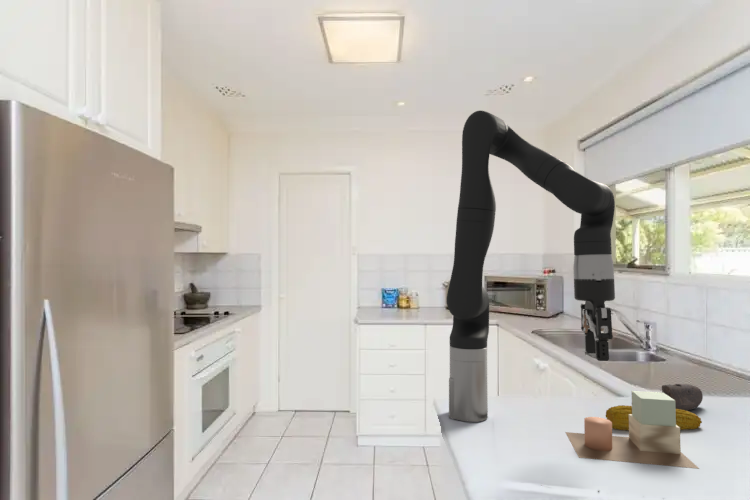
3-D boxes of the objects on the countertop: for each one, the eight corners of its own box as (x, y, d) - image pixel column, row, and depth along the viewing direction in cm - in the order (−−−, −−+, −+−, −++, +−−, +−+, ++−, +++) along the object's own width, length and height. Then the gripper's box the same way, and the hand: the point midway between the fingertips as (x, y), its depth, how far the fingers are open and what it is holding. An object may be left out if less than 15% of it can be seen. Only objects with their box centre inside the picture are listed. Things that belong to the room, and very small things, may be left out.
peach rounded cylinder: (587, 449, 89) (587, 423, 90) (582, 440, 94) (581, 416, 95) (615, 452, 88) (615, 425, 89) (608, 442, 93) (608, 417, 93)
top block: (641, 424, 90) (641, 398, 90) (632, 414, 96) (631, 390, 96) (676, 426, 88) (675, 400, 89) (663, 417, 94) (663, 392, 95)
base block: (640, 450, 89) (639, 424, 89) (629, 437, 96) (628, 413, 96) (680, 454, 88) (679, 427, 88) (666, 441, 94) (665, 416, 95)
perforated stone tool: (692, 404, 125) (691, 378, 125) (712, 409, 120) (711, 383, 120) (654, 410, 119) (653, 383, 120) (673, 416, 115) (673, 388, 115)
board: (579, 462, 86) (578, 457, 86) (565, 436, 99) (565, 432, 99) (699, 474, 81) (699, 468, 81) (668, 445, 95) (667, 440, 95)
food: (616, 437, 100) (616, 409, 100) (602, 428, 106) (601, 402, 106) (708, 435, 101) (707, 408, 101) (689, 427, 107) (688, 401, 107)
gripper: (567, 277, 102) (569, 350, 101) (582, 277, 88) (585, 362, 87) (603, 277, 100) (606, 351, 99) (624, 277, 86) (628, 364, 85)
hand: (596, 356), depth 93 cm, fingers open, 8 cm apart
